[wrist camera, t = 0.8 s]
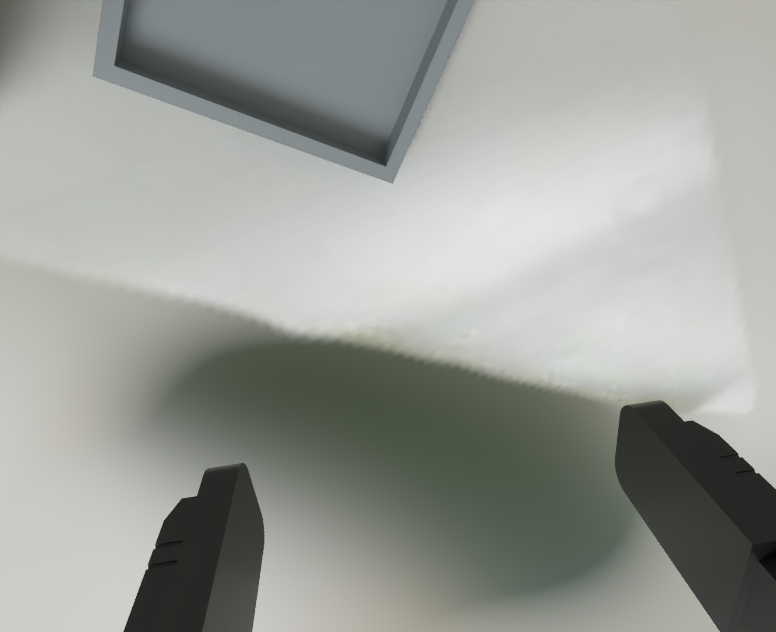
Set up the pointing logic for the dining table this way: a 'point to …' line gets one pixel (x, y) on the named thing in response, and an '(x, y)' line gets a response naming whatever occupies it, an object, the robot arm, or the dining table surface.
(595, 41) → the dining table surface
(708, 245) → the dining table surface
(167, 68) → the tray
